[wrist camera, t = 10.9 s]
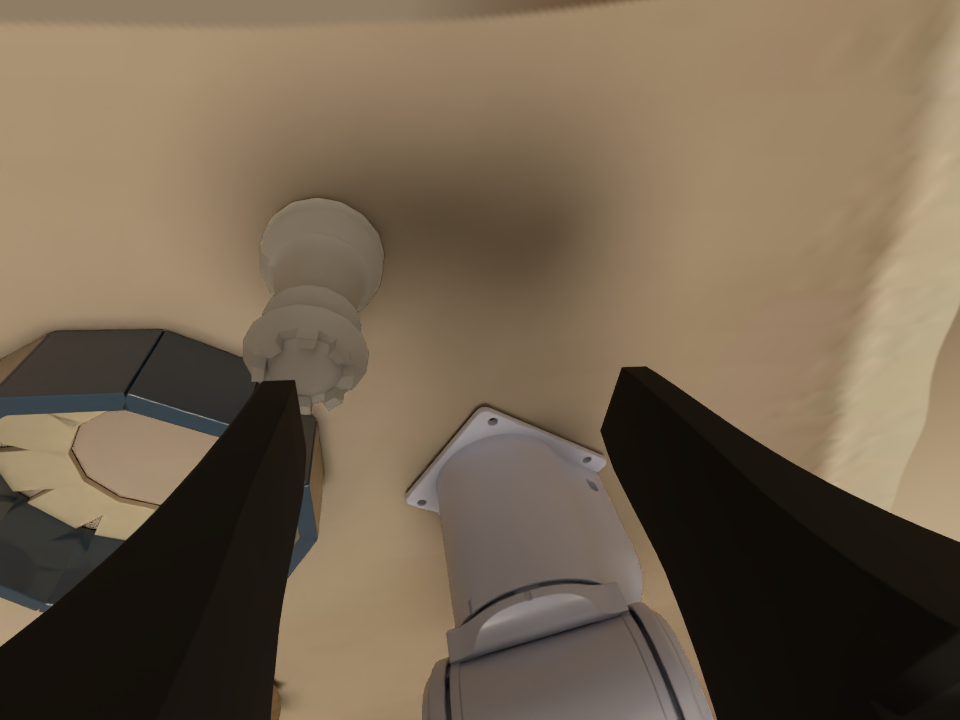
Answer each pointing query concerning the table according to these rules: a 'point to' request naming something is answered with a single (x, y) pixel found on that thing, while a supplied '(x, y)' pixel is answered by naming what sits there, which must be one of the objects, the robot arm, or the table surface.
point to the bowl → (81, 397)
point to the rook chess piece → (315, 300)
